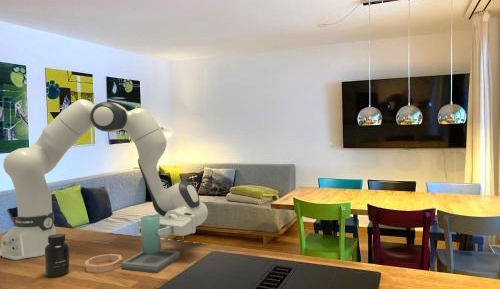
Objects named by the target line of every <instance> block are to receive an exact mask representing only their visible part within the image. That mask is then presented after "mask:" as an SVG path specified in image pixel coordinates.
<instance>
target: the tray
mask: <svg viewBox="0 0 500 289" xmlns="http://www.w3.org/2000/svg"><path fill="white" fill-rule="evenodd" d="M178 259H180V252H179V251H173V250H163V249H161V250H160V251H159V252H156V253H150V254H147V253H143V252H142V251H140V252H139V253H136V254H135V255H133V256H131V257H129V258H128V259H126V260H124V261H123V262H122V263H121V266H120V267H121V270H126V271H135V272H144V273H145V272H146V273H154V274H158V273H159V272H160V271H162V270H164V269H165V268H166V267H168V266H170V264H172V263H173V262H175V261H176V260H178Z"/></svg>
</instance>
